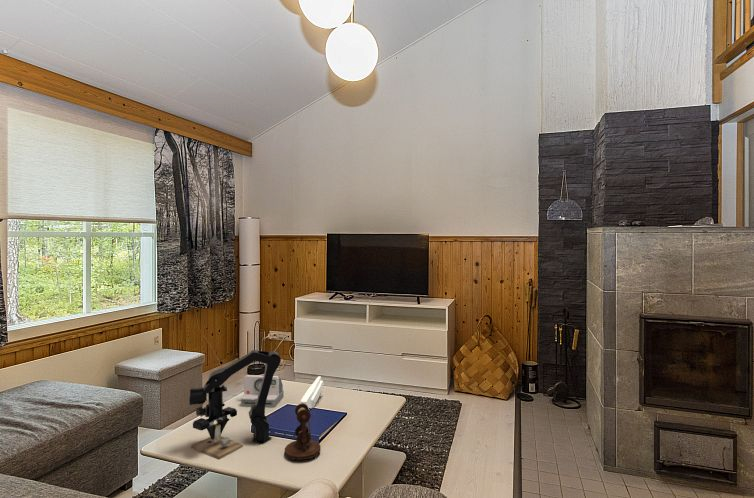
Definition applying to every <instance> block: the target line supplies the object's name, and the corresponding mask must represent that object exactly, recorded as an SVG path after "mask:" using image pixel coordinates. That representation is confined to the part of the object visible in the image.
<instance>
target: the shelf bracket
mask: <svg viewBox="0 0 754 498" xmlns="http://www.w3.org/2000/svg"><path fill="white" fill-rule="evenodd" d="M323 389H324V380H322V376H320V375H319V376H317V377H316V379H315V380H314V381H313V383H312V384H311V385H310V386H309V388H308V389H307V391H305V394H304V395H303V396H302V398H301V399H300V404H302V403H303V404H306V405H307V406H308V409H309V408H310V409H313V408H312V407H315V405H316V404H317V402H318V400H319V398H320V397H323ZM310 409H309V410H310Z"/></svg>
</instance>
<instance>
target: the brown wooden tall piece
mask: <svg viewBox="0 0 754 498" xmlns="http://www.w3.org/2000/svg"><path fill="white" fill-rule="evenodd" d="M294 412H295V415H296V420H297V422H298V423H299V425H298V426H297V427H296V428H295V430H294V434H295V437H296V440H293V441H292V442H290V443H288V444H286V445H285V448H284V454H285V456H286V457H287V458H289V459H290V461H291V462H294V460H307V459H311V458H315V459H317V457H318V455H319V454H320V452H321V444H320V443H319V442H318V441H315V440H313V439H312V433H311V432H312V431H311V430H312V429H311V423H310V422H311V421H310V420H311V417H312V416H311V412H310V410H309V411H308V406H307V405H306V404H303V403H302V404H301V403H299V404H297V405H296V406H295V409H294Z"/></svg>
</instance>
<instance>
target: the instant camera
mask: <svg viewBox="0 0 754 498" xmlns="http://www.w3.org/2000/svg"><path fill="white" fill-rule="evenodd" d="M263 376H264V374H262V375H260V374H259V375H257V374H256V375H255V374H247V375H245V376H244V377H243V395H242V396H241V397H240V400H241V403H240V404H241V408H242V407H243V408H251V404H253V405H254V404H255V403H256V401H257V398H258V394H259V391H260V387H261V384H262V380H263ZM284 395H285V394H284V389H283V381H282V378H280V375H279V374H278V375H276V374H274V375H273V379H272V382H271V386H270V389H269V393H268V396H267V400H266V404H265V409H266V408H270V409H274V408H276V407H277V405H278V404H280V402H281V401H282V400H283V399H284V397H285V396H284Z"/></svg>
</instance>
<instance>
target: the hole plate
mask: <svg viewBox="0 0 754 498" xmlns="http://www.w3.org/2000/svg"><path fill="white" fill-rule="evenodd" d="M243 445H244V444H242V443H240V442H237V441H234V440H232V439H230V438H229V437H224V436H221V440H218V441H217V444H215V442H213V441H211V437H210V436H208V437H206V438H204V439H202V440H200V441H197V442H195V443H193V444H192V445H190V446H191V449H192V448H193V450H195V451H198V452H200V453H203V454H205V455H208V456H210V457H213V458H214V459H215V458H216V459H218V460H221V459H222V458H225V457H227V456H228V455H230V454H233V453H234V452H236V451H238V450H240V449H241V448H243V447H244V446H243Z"/></svg>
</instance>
